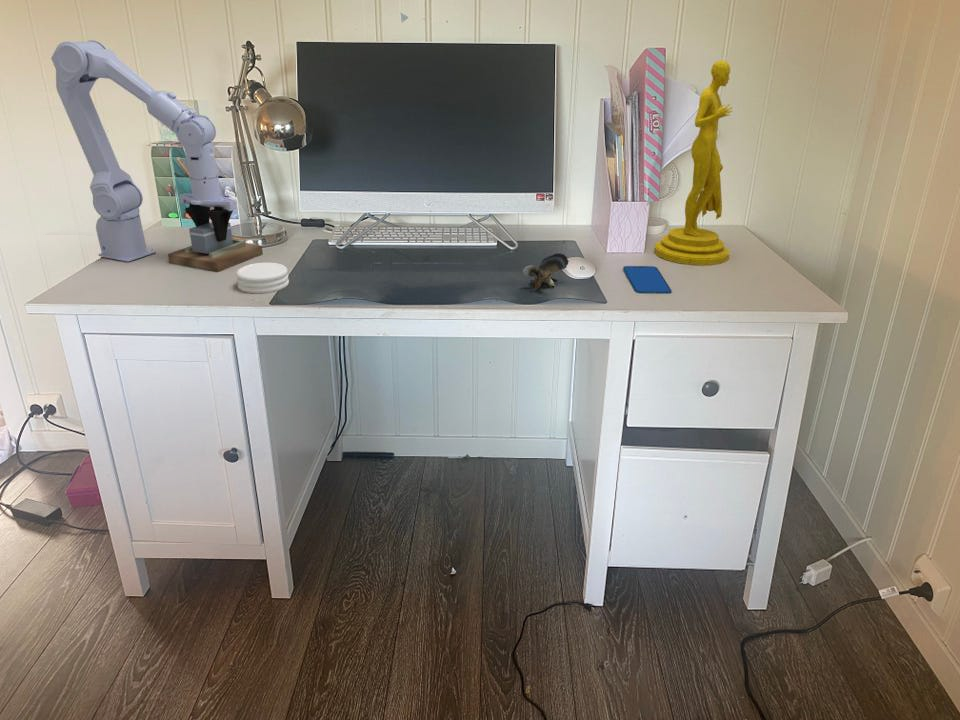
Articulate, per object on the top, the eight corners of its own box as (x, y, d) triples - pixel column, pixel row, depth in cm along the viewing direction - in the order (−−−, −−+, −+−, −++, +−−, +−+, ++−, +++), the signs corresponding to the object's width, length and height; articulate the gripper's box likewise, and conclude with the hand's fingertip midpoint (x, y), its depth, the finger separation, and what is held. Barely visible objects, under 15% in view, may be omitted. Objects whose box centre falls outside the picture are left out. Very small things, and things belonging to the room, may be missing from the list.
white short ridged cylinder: (230, 284, 143) (228, 267, 142) (277, 274, 149) (275, 258, 147) (249, 298, 136) (246, 281, 134) (297, 287, 141) (295, 271, 140)
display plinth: (169, 262, 154) (166, 249, 153) (216, 246, 166) (214, 233, 165) (218, 271, 149) (215, 258, 148) (262, 254, 161) (261, 241, 159)
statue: (719, 270, 153) (753, 63, 135) (644, 257, 160) (666, 60, 142) (736, 250, 166) (768, 60, 148) (665, 239, 173) (688, 57, 155)
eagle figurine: (562, 290, 137) (577, 269, 144) (542, 260, 135) (558, 240, 142) (532, 303, 142) (547, 282, 148) (512, 274, 140) (529, 254, 146)
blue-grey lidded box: (192, 251, 153) (188, 228, 151) (219, 242, 160) (216, 220, 158) (206, 253, 152) (203, 230, 150) (233, 244, 158) (230, 222, 156)
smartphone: (635, 291, 139) (622, 265, 152) (635, 296, 140) (621, 270, 153) (673, 292, 139) (656, 266, 152) (672, 296, 140) (655, 270, 153)
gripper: (163, 177, 149) (175, 239, 155) (216, 183, 144) (226, 248, 150) (189, 171, 155) (199, 231, 161) (240, 177, 149) (249, 239, 155)
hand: (213, 239), depth 156 cm, fingers closed on blue-grey lidded box, 4 cm apart
